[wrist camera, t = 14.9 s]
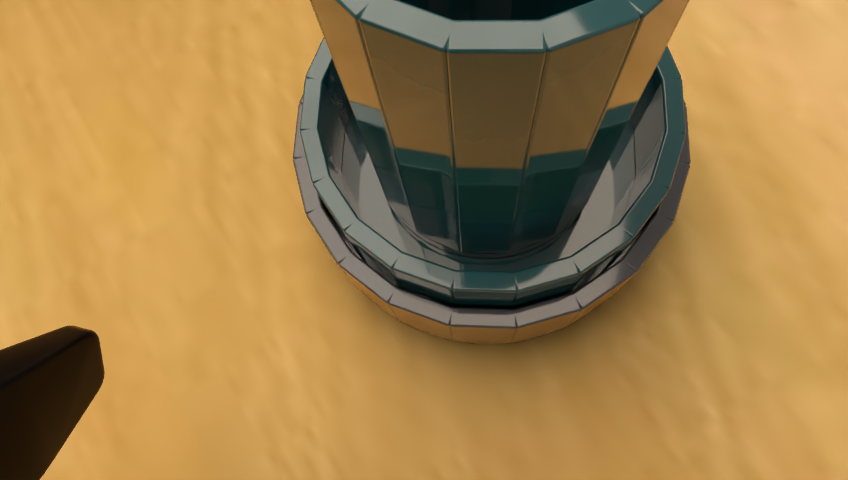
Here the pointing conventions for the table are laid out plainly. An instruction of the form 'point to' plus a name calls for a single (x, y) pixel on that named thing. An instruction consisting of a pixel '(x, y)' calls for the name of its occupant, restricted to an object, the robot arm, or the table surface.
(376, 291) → the stack base cup
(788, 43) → the table surface
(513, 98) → the teal cup
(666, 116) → the stack top cup
